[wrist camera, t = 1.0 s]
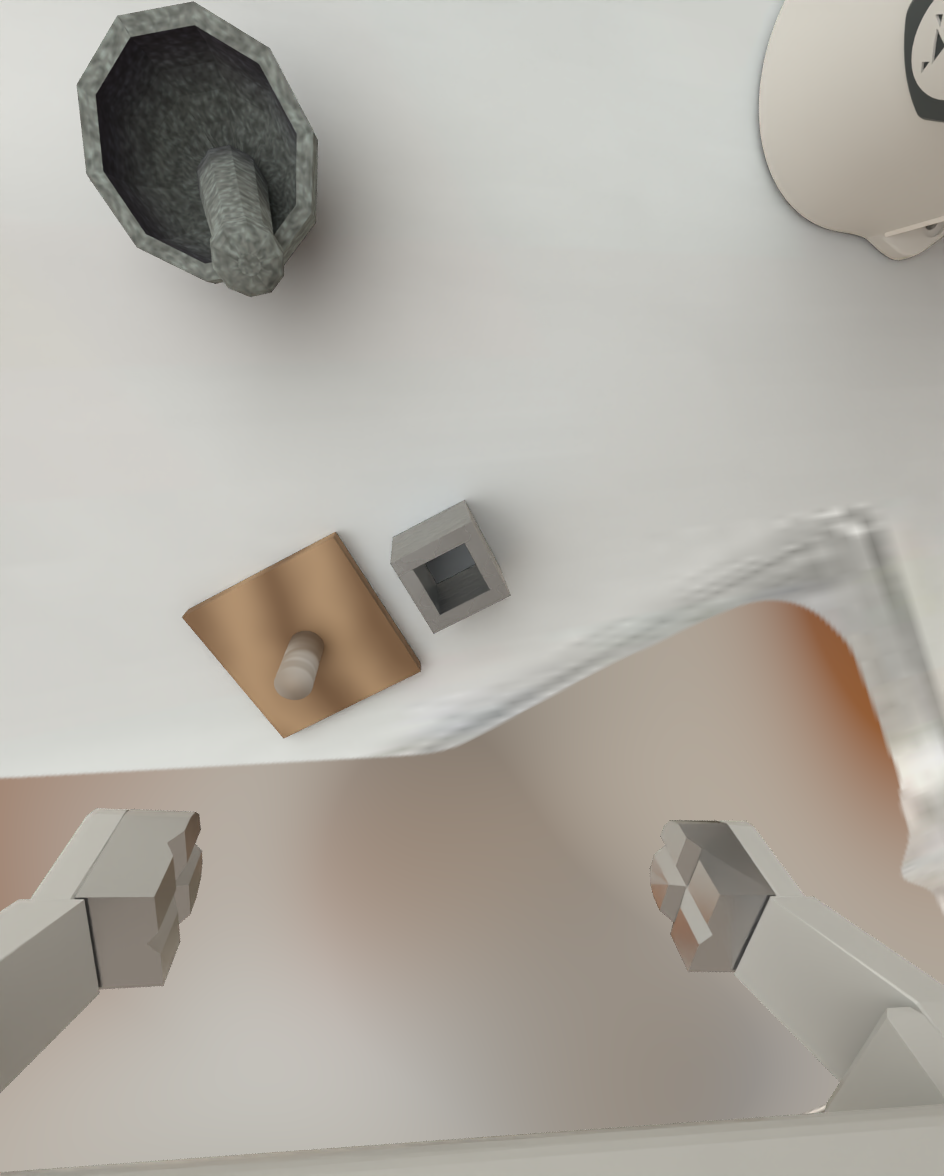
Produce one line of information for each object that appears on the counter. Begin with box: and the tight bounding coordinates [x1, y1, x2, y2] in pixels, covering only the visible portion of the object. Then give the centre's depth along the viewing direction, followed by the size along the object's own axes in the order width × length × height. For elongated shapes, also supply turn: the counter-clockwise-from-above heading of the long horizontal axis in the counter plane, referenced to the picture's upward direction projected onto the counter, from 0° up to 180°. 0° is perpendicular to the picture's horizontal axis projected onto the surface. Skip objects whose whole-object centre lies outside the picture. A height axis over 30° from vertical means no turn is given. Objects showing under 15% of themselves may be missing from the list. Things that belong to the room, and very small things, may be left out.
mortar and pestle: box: [77, 1, 318, 297], centre depth 25 cm, size 11×9×12 cm
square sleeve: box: [390, 500, 511, 633], centre depth 38 cm, size 6×6×5 cm
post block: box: [182, 532, 421, 738], centre depth 39 cm, size 12×12×6 cm
